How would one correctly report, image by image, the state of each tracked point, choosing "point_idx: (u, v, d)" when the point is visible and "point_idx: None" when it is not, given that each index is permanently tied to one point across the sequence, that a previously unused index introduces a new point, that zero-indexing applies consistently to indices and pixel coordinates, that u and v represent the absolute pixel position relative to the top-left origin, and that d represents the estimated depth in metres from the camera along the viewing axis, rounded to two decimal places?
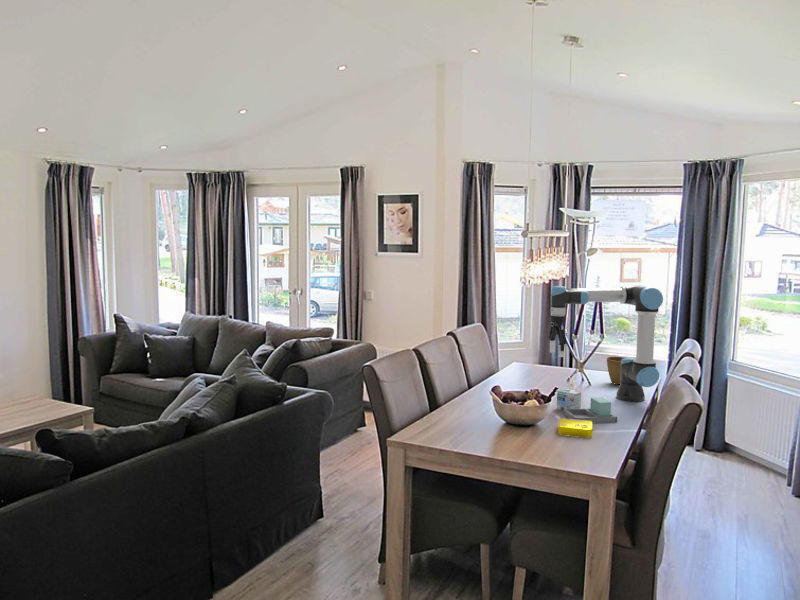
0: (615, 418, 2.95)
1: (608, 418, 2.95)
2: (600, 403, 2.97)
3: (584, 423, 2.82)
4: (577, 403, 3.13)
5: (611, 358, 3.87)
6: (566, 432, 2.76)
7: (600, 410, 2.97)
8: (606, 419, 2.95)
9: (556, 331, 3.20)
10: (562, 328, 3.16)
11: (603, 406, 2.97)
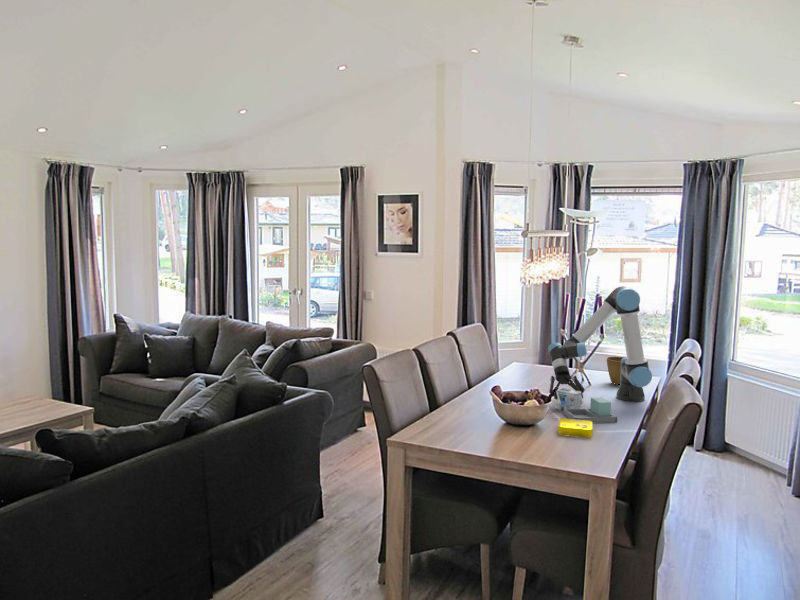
0: (615, 418, 2.95)
1: (608, 418, 2.95)
2: (600, 403, 2.97)
3: (584, 423, 2.82)
4: (577, 403, 3.13)
5: (611, 358, 3.87)
6: (566, 432, 2.76)
7: (600, 410, 2.97)
8: (606, 419, 2.95)
9: None
10: (551, 379, 3.23)
11: (603, 406, 2.97)
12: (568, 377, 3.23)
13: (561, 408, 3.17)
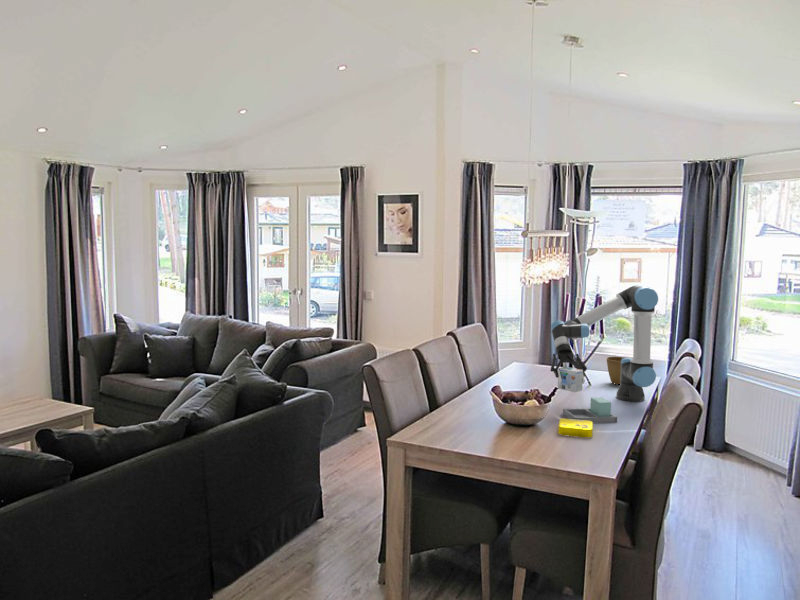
0: (615, 418, 2.95)
1: (608, 418, 2.95)
2: (600, 403, 2.97)
3: (584, 423, 2.82)
4: (578, 381, 3.07)
5: (611, 358, 3.87)
6: (567, 432, 2.76)
7: (600, 410, 2.97)
8: (606, 419, 2.95)
9: None
10: (552, 357, 3.18)
11: (603, 406, 2.97)
12: (570, 355, 3.17)
13: (562, 386, 3.11)
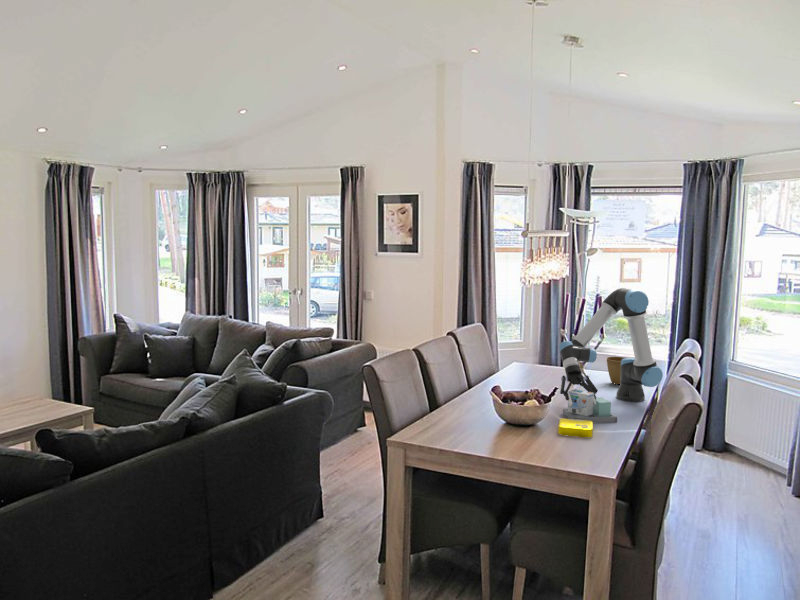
0: (615, 418, 2.95)
1: (608, 418, 2.95)
2: (600, 403, 2.97)
3: (584, 423, 2.82)
4: (590, 405, 2.97)
5: (611, 358, 3.87)
6: (567, 432, 2.76)
7: (599, 410, 2.97)
8: (606, 419, 2.95)
9: None
10: (562, 379, 3.07)
11: (603, 406, 2.97)
12: (580, 377, 3.07)
13: (573, 410, 3.00)
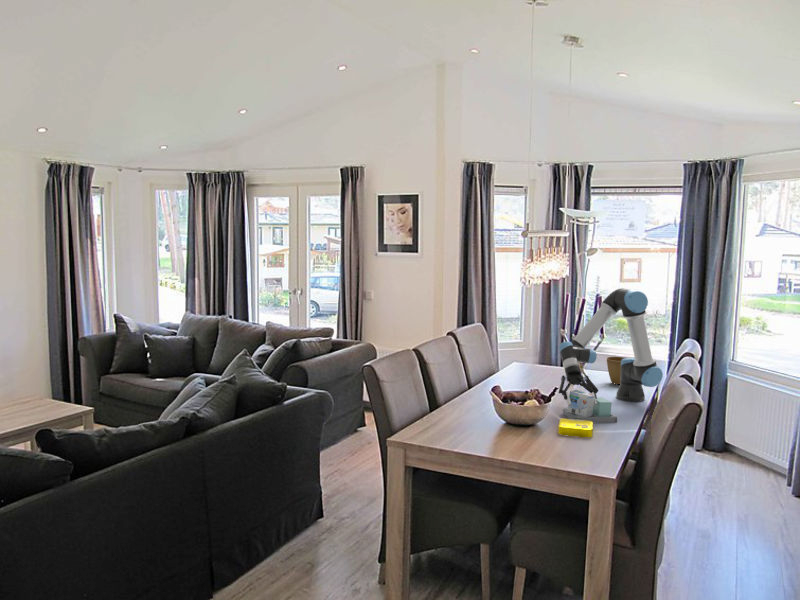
0: (615, 418, 2.95)
1: (608, 418, 2.95)
2: (601, 403, 2.97)
3: (584, 423, 2.82)
4: (590, 406, 2.97)
5: (611, 358, 3.87)
6: (567, 432, 2.75)
7: (600, 410, 2.97)
8: (606, 419, 2.95)
9: None
10: (561, 378, 3.07)
11: (604, 406, 2.97)
12: (580, 377, 3.07)
13: (572, 410, 3.01)
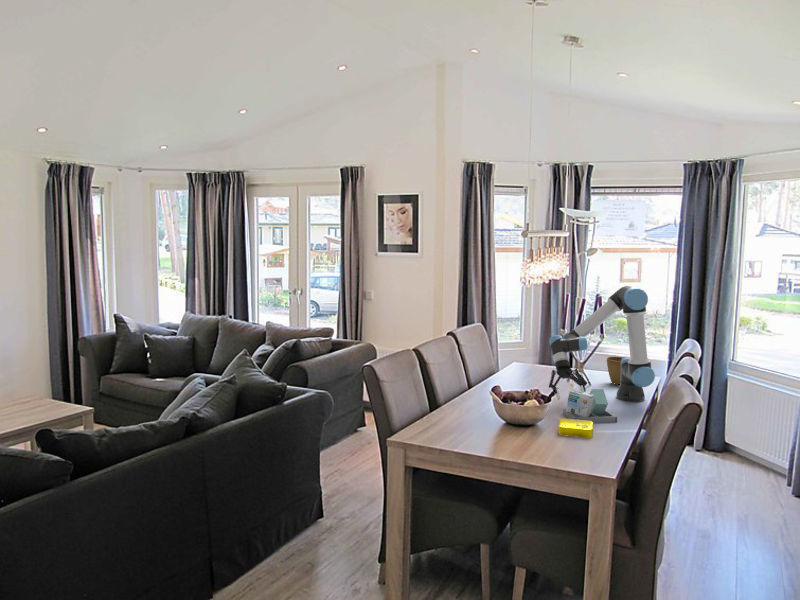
0: (615, 418, 2.95)
1: (608, 418, 2.95)
2: (593, 389, 3.05)
3: (584, 423, 2.82)
4: (589, 406, 2.99)
5: (611, 358, 3.87)
6: (567, 432, 2.75)
7: (594, 395, 3.03)
8: (606, 419, 2.95)
9: None
10: (552, 373, 3.21)
11: (597, 392, 3.04)
12: (569, 371, 3.20)
13: (571, 410, 3.01)
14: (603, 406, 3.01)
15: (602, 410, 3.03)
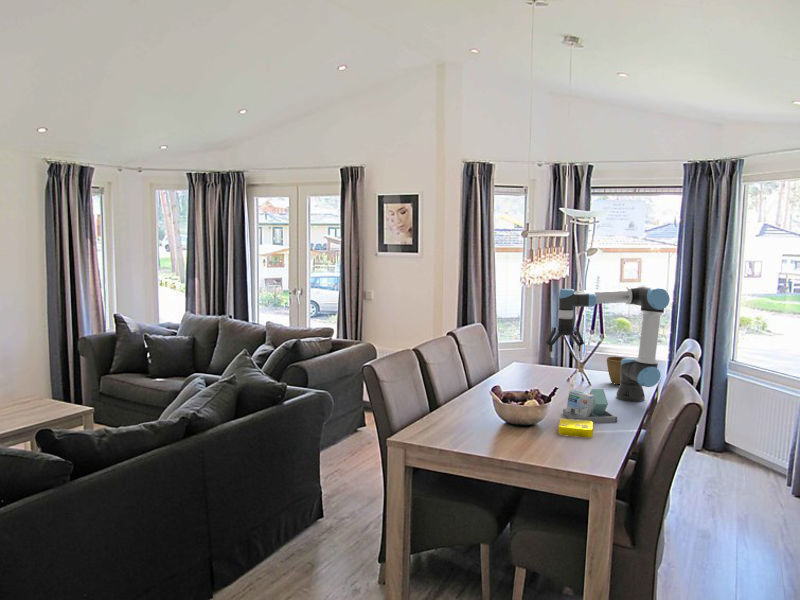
0: (615, 418, 2.95)
1: (608, 418, 2.95)
2: (593, 389, 3.05)
3: (584, 423, 2.82)
4: (589, 406, 2.99)
5: (611, 358, 3.87)
6: (567, 432, 2.75)
7: (594, 395, 3.03)
8: (606, 419, 2.95)
9: None
10: (552, 329, 3.21)
11: (597, 392, 3.04)
12: (570, 331, 3.20)
13: (571, 410, 3.01)
14: (603, 406, 3.01)
15: (602, 410, 3.03)
